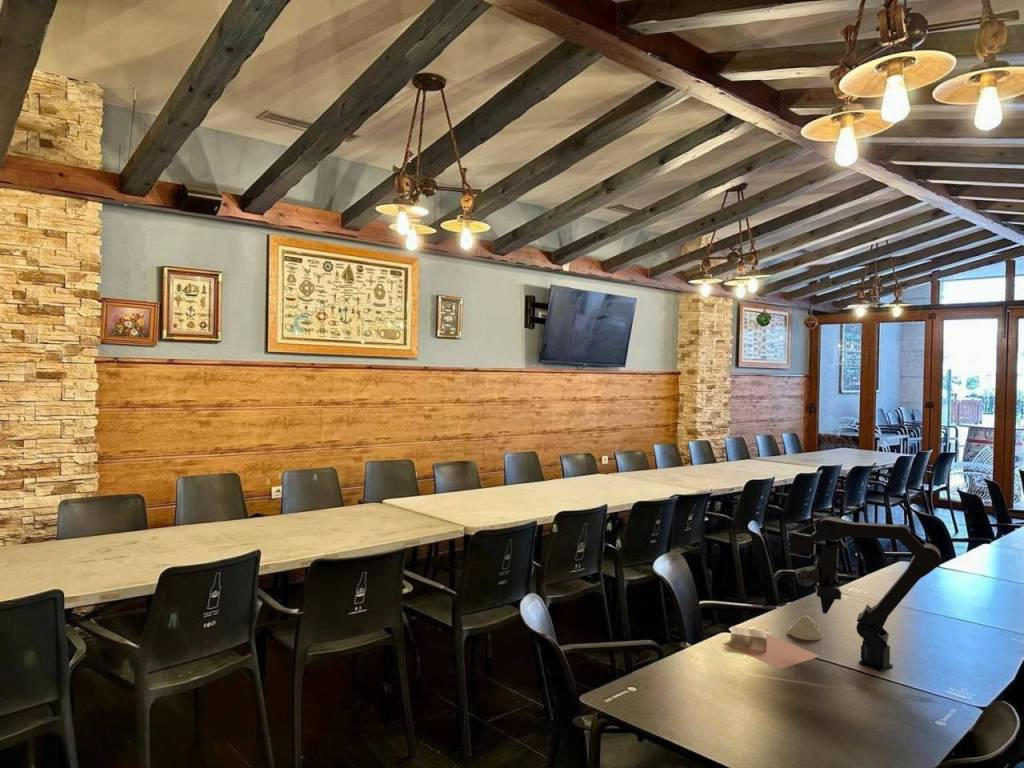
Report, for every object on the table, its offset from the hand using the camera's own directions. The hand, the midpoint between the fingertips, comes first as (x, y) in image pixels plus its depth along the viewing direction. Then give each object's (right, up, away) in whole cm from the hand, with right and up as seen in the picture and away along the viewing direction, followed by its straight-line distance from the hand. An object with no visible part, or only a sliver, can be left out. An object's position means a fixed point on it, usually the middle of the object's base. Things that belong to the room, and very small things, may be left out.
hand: (824, 613), depth 200 cm
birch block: (-16, -9, +3) cm, 19 cm away
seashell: (0, -12, +14) cm, 18 cm away
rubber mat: (-15, -12, +2) cm, 19 cm away
